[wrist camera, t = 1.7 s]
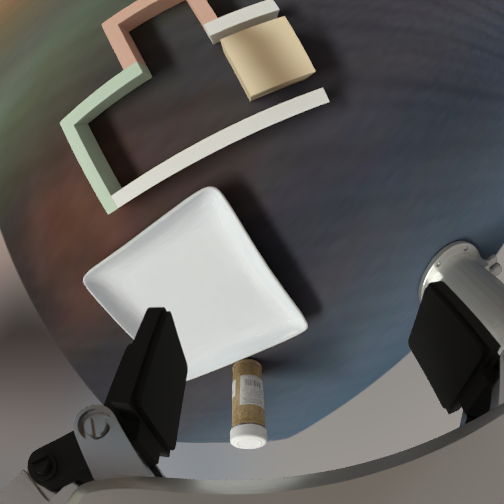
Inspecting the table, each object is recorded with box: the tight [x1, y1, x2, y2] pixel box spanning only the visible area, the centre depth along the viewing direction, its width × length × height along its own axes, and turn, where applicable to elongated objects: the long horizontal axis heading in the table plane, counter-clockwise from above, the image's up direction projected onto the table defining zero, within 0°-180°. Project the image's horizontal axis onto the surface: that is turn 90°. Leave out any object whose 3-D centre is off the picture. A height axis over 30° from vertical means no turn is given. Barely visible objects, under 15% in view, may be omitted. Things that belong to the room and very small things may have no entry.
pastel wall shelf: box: [60, 0, 330, 215], centre depth 22 cm, size 24×19×3 cm
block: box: [220, 16, 316, 101], centre depth 21 cm, size 6×6×5 cm
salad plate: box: [83, 186, 308, 381], centre depth 33 cm, size 21×21×3 cm
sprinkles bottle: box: [230, 359, 267, 449], centre depth 34 cm, size 5×5×14 cm
